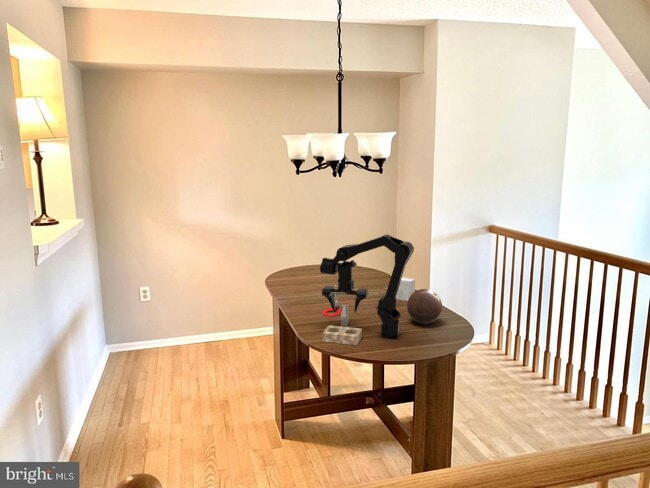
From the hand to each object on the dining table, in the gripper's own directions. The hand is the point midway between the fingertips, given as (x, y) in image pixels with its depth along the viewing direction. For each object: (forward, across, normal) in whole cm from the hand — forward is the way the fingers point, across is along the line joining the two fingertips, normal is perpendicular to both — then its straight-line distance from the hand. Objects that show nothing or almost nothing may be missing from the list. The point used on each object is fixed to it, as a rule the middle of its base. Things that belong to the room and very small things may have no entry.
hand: (344, 311), depth 203 cm
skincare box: (+8, -19, -49) cm, 53 cm away
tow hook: (+8, +10, -17) cm, 21 cm away
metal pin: (+7, 0, 0) cm, 7 cm away
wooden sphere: (+8, -32, -16) cm, 37 cm away
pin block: (+7, -2, +12) cm, 14 cm away
